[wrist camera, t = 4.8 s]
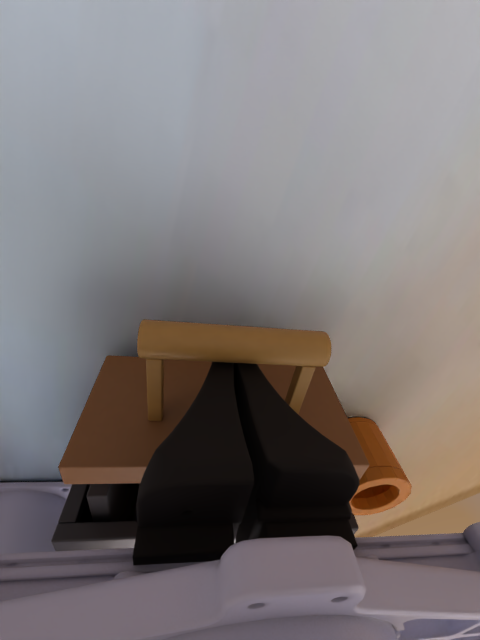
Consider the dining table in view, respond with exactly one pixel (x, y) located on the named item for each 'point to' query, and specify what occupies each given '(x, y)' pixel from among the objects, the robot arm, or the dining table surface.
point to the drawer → (189, 401)
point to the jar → (377, 472)
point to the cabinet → (100, 526)
